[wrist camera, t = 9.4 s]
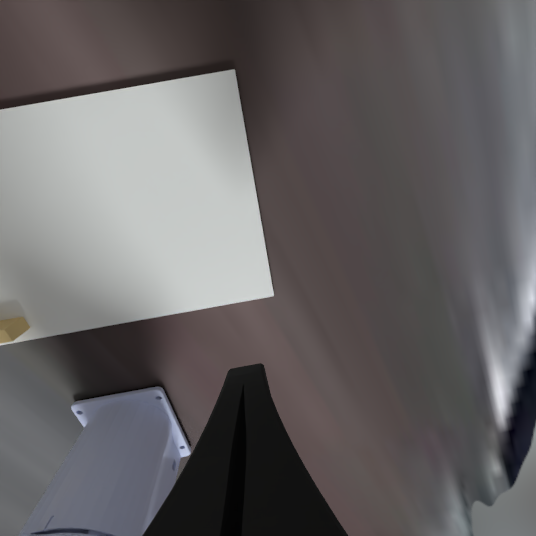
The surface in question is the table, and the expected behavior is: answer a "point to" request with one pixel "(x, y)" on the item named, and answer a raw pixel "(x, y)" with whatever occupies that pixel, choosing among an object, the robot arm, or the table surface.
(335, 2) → the table surface
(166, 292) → the board
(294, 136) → the table surface
